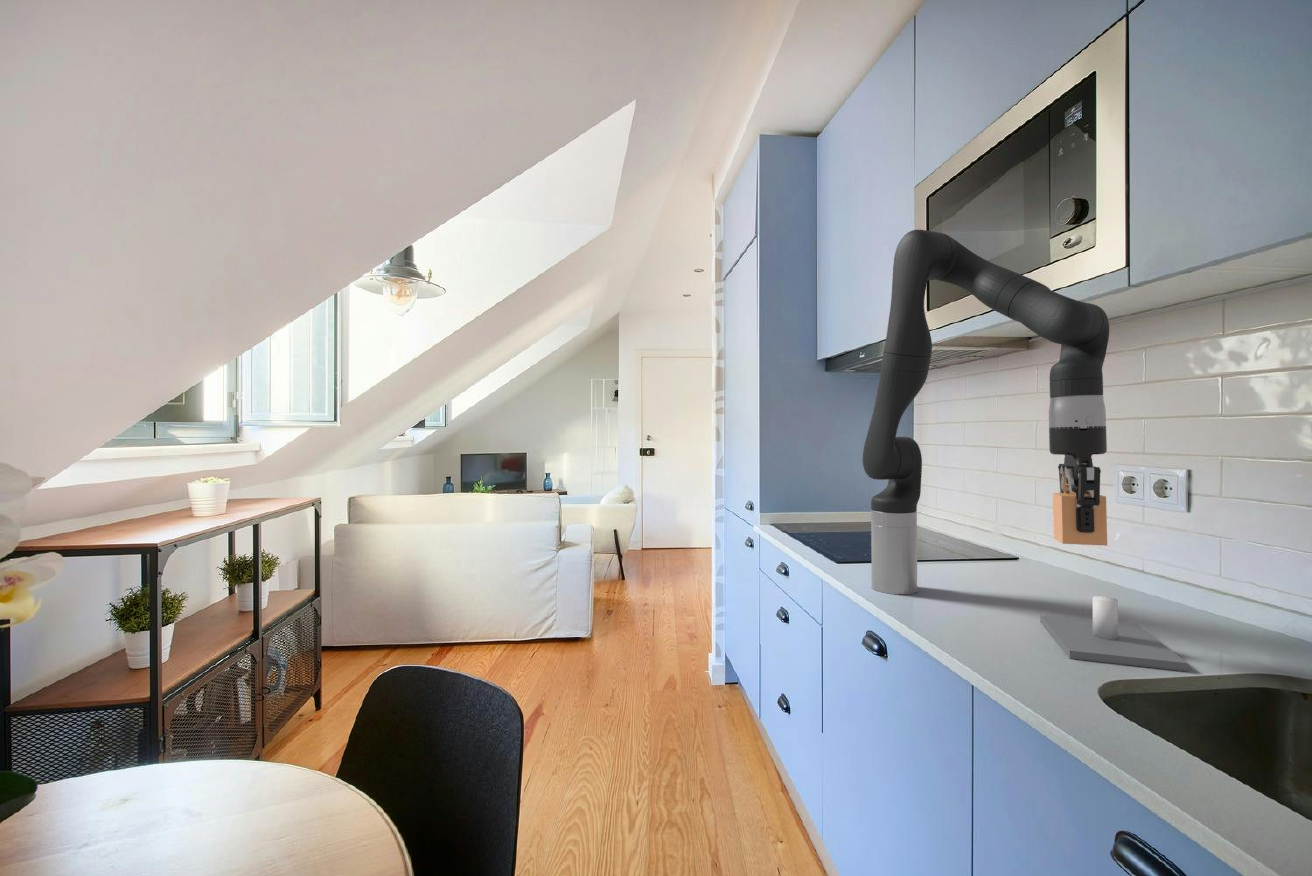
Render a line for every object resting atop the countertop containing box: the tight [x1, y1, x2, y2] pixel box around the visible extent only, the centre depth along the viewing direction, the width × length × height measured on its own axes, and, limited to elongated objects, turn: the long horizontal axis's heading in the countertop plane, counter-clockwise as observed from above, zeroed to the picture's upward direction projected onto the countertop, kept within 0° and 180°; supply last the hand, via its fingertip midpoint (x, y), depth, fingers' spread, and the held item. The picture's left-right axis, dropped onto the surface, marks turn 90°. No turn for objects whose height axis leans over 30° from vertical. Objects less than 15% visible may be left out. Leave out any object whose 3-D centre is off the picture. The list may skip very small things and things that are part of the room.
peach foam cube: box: [1052, 492, 1108, 547], centre depth 94 cm, size 6×6×8 cm
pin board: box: [1039, 595, 1189, 673], centre depth 93 cm, size 18×14×7 cm
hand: (1079, 529), depth 94 cm, fingers closed on peach foam cube, 5 cm apart
